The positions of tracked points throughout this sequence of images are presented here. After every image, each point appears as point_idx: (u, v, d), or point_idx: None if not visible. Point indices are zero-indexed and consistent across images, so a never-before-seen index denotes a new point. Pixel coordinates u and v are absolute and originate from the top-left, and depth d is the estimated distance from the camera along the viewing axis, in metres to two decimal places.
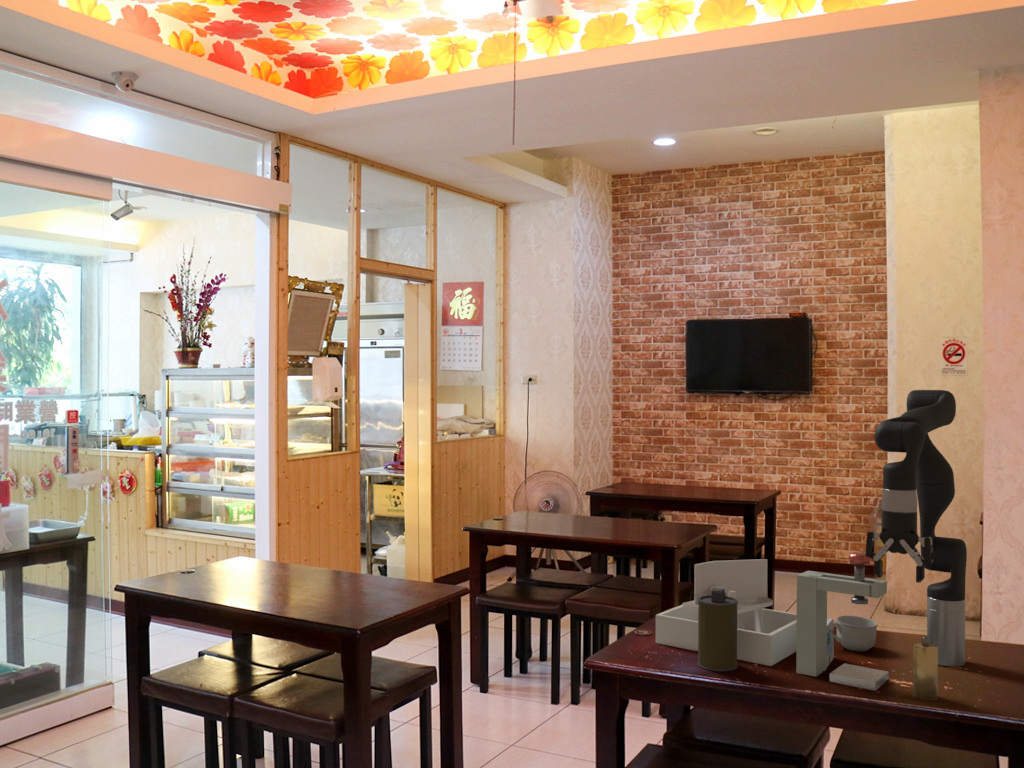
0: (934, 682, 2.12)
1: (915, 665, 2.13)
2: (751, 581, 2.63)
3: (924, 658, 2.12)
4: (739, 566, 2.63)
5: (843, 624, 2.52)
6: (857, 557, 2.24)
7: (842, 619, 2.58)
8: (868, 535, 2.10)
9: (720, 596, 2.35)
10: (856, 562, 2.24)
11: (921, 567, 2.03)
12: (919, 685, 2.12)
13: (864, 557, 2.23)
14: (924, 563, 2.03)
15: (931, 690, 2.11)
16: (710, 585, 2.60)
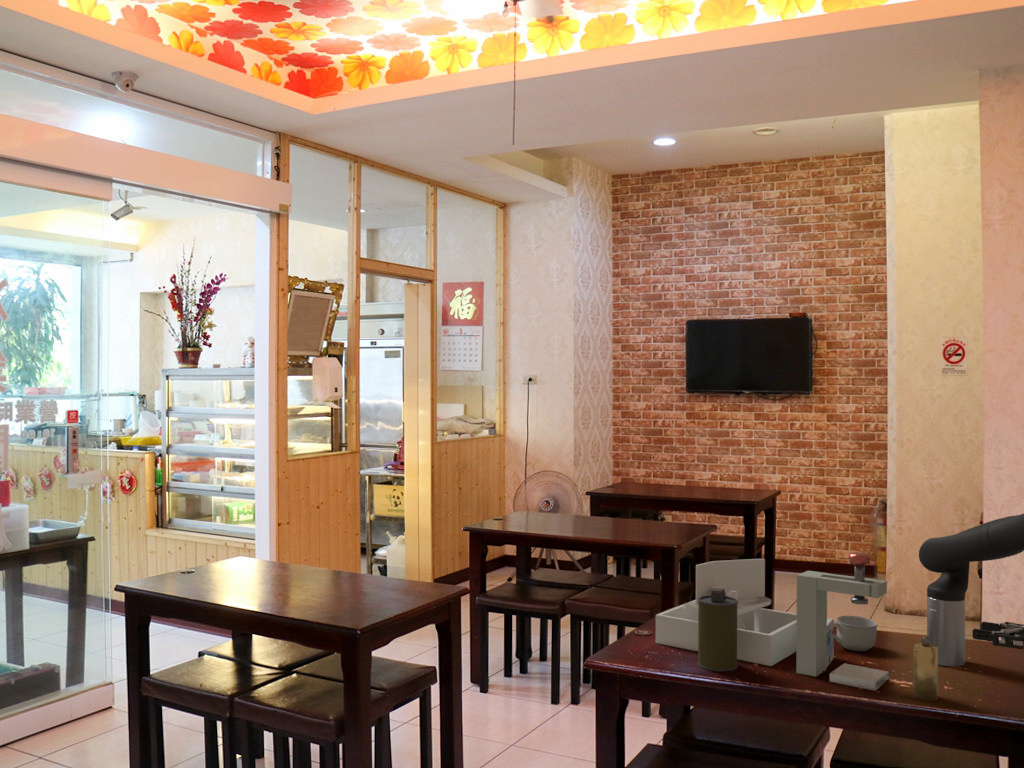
0: (934, 682, 2.12)
1: (915, 665, 2.13)
2: (749, 581, 2.64)
3: (924, 658, 2.12)
4: (738, 566, 2.63)
5: (843, 624, 2.52)
6: (857, 557, 2.24)
7: (842, 619, 2.58)
8: (1018, 648, 1.96)
9: (720, 596, 2.35)
10: (856, 562, 2.24)
11: (998, 631, 2.09)
12: (919, 685, 2.12)
13: (864, 557, 2.23)
14: None
15: (931, 690, 2.11)
16: (710, 585, 2.59)
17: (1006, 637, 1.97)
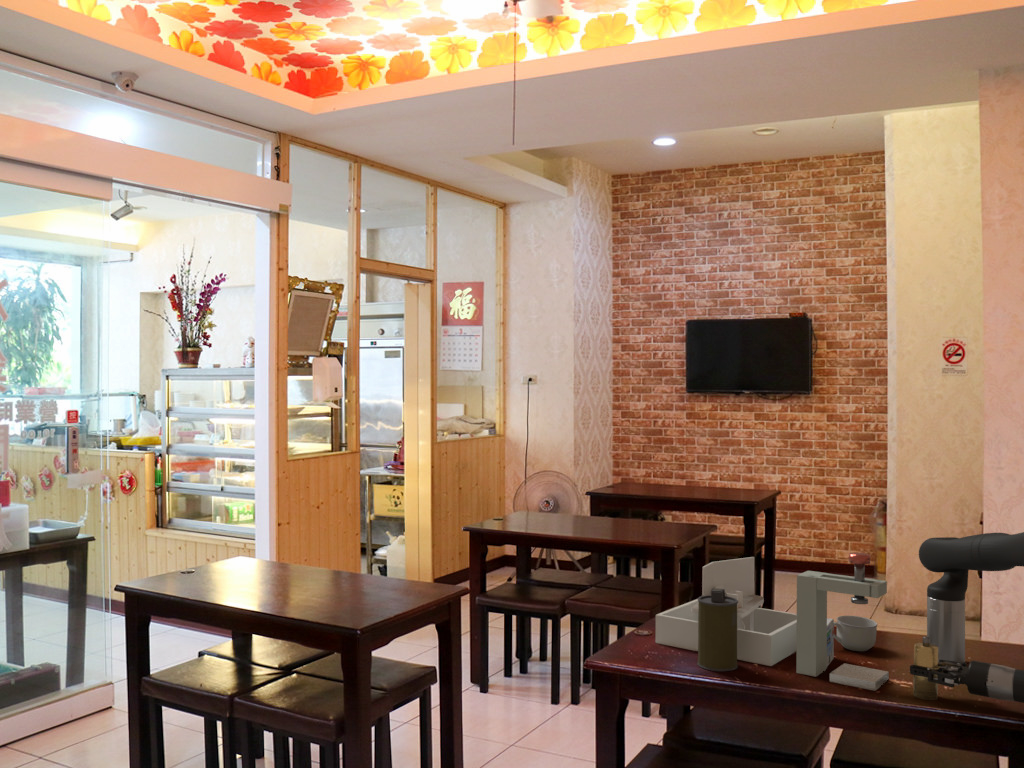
0: None
1: None
2: (742, 580, 2.65)
3: (924, 658, 2.12)
4: (732, 565, 2.64)
5: (843, 624, 2.52)
6: (857, 557, 2.24)
7: (842, 619, 2.58)
8: None
9: (720, 596, 2.35)
10: (856, 562, 2.24)
11: None
12: (919, 685, 2.12)
13: (864, 557, 2.23)
14: None
15: (931, 690, 2.11)
16: (711, 586, 2.58)
17: (938, 674, 2.06)
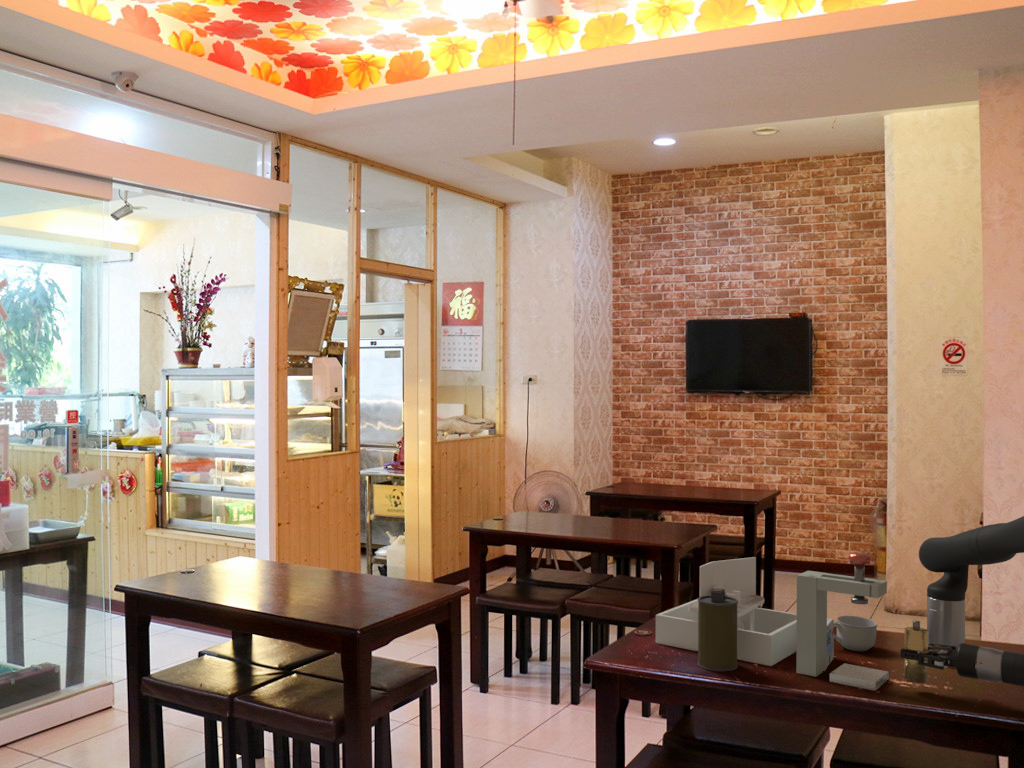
0: None
1: None
2: (742, 580, 2.65)
3: (915, 641, 2.15)
4: (732, 565, 2.64)
5: (843, 624, 2.52)
6: (857, 557, 2.24)
7: (842, 619, 2.58)
8: None
9: (720, 596, 2.35)
10: (856, 562, 2.24)
11: None
12: (910, 668, 2.16)
13: (864, 557, 2.23)
14: None
15: (921, 673, 2.15)
16: (709, 586, 2.58)
17: (928, 657, 2.10)
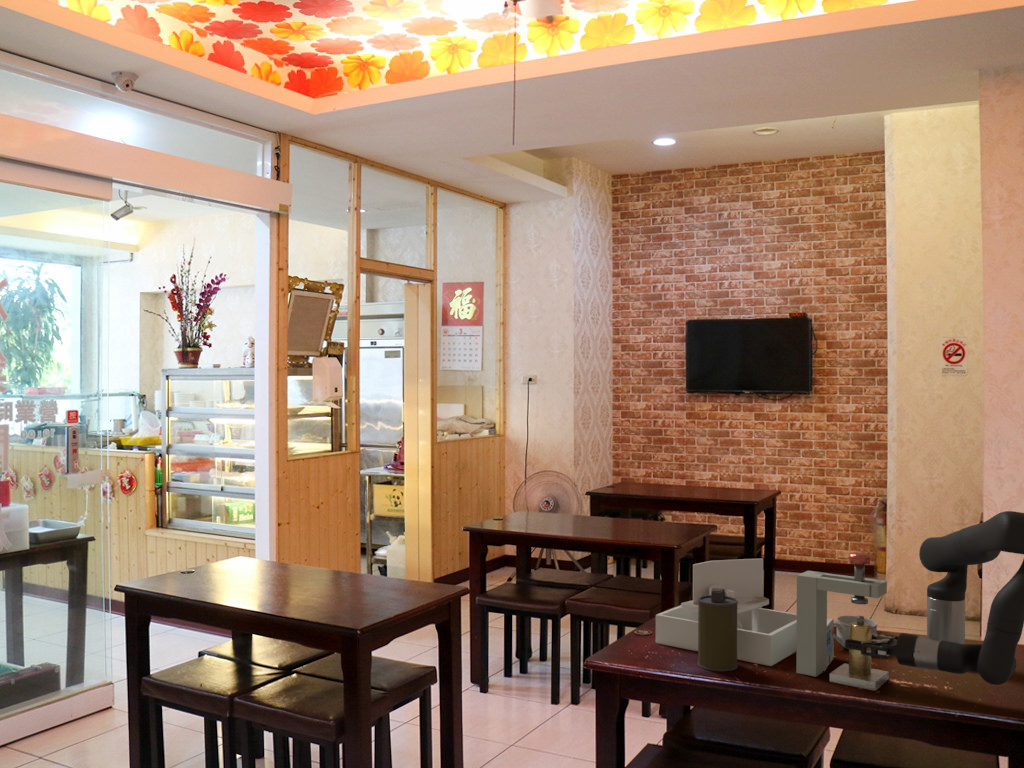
0: (867, 659, 2.23)
1: None
2: (747, 580, 2.64)
3: (858, 635, 2.23)
4: (736, 566, 2.63)
5: (843, 624, 2.52)
6: (857, 557, 2.24)
7: (842, 619, 2.58)
8: (882, 657, 2.16)
9: (720, 596, 2.35)
10: (856, 562, 2.24)
11: None
12: (853, 661, 2.24)
13: (864, 557, 2.23)
14: None
15: (864, 666, 2.23)
16: (708, 585, 2.60)
17: (872, 647, 2.17)
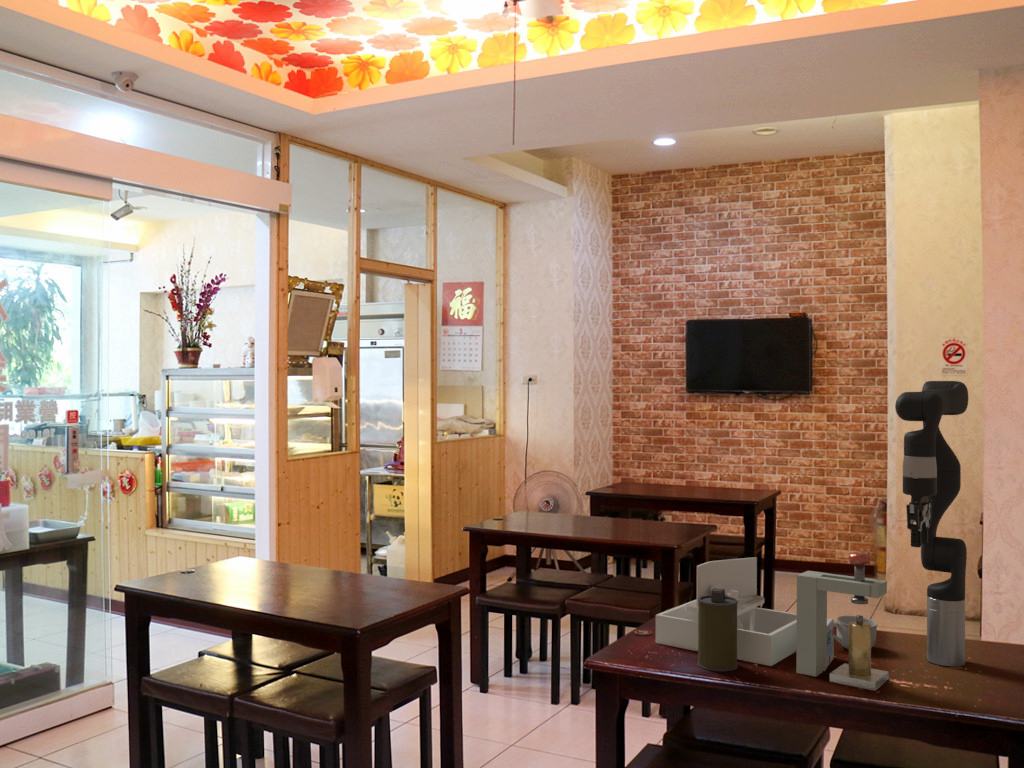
0: (867, 658, 2.23)
1: (850, 642, 2.25)
2: (743, 580, 2.65)
3: (857, 635, 2.23)
4: (732, 565, 2.64)
5: (843, 624, 2.52)
6: (857, 557, 2.24)
7: (842, 619, 2.58)
8: (917, 509, 2.11)
9: (720, 596, 2.35)
10: (856, 562, 2.24)
11: (926, 529, 2.20)
12: (853, 661, 2.24)
13: (864, 557, 2.23)
14: None
15: (864, 666, 2.23)
16: (708, 585, 2.59)
17: (908, 518, 2.13)
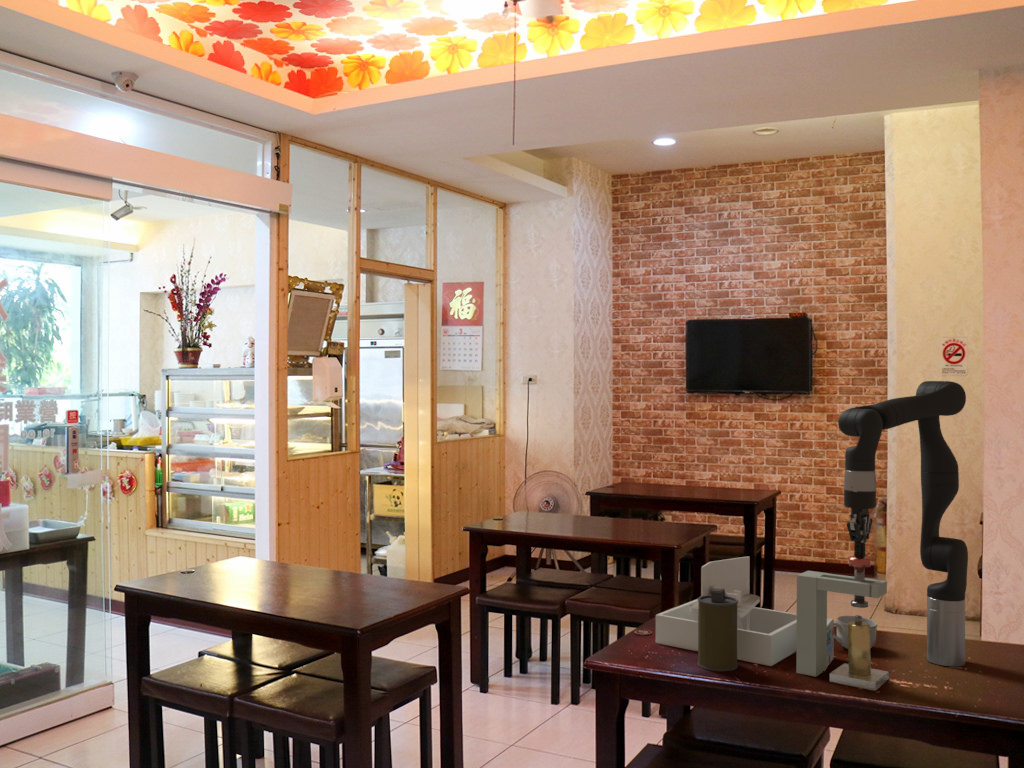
0: (866, 658, 2.23)
1: (849, 643, 2.25)
2: (738, 579, 2.66)
3: (856, 635, 2.23)
4: (729, 565, 2.64)
5: (843, 624, 2.52)
6: (857, 560, 2.24)
7: (842, 619, 2.58)
8: (857, 526, 2.21)
9: (720, 596, 2.35)
10: (856, 565, 2.24)
11: None
12: (852, 661, 2.24)
13: (864, 560, 2.23)
14: None
15: (864, 666, 2.23)
16: (709, 586, 2.58)
17: (850, 534, 2.23)
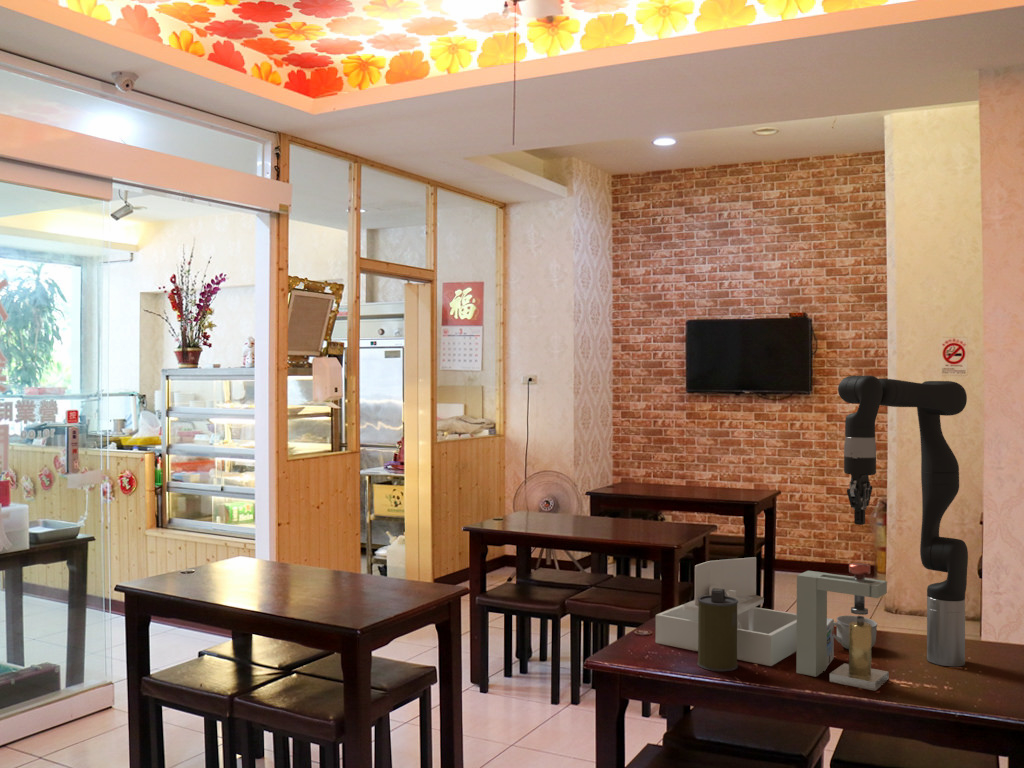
0: (866, 659, 2.23)
1: (850, 643, 2.25)
2: (742, 579, 2.66)
3: (857, 636, 2.23)
4: (731, 565, 2.64)
5: (843, 624, 2.52)
6: (857, 567, 2.24)
7: (842, 619, 2.58)
8: (857, 492, 2.21)
9: (720, 596, 2.35)
10: (856, 572, 2.24)
11: (864, 510, 2.26)
12: (852, 661, 2.24)
13: (864, 567, 2.23)
14: None
15: (863, 666, 2.23)
16: (706, 585, 2.60)
17: (850, 500, 2.23)
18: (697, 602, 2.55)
